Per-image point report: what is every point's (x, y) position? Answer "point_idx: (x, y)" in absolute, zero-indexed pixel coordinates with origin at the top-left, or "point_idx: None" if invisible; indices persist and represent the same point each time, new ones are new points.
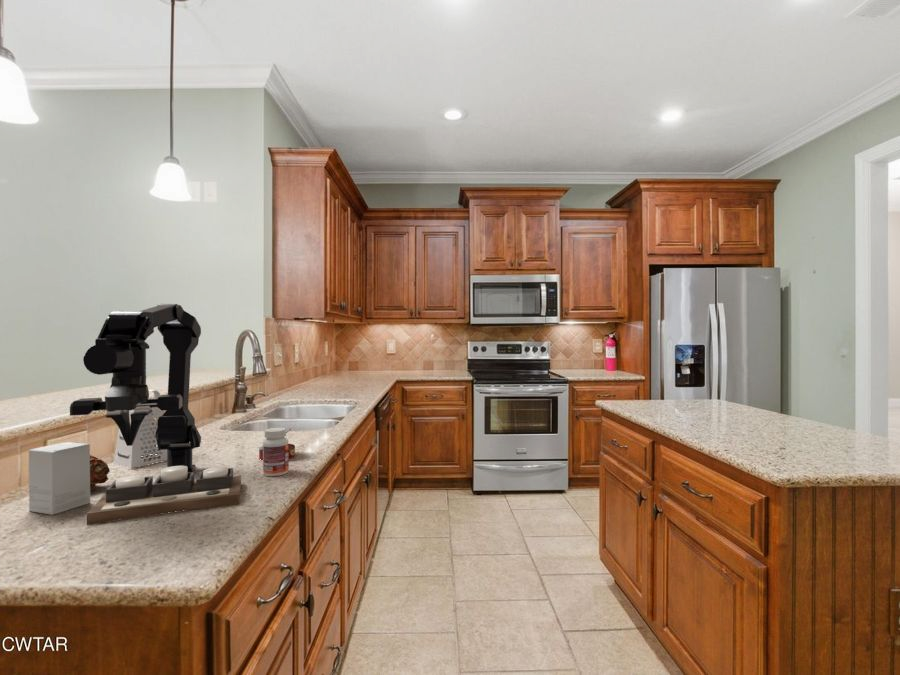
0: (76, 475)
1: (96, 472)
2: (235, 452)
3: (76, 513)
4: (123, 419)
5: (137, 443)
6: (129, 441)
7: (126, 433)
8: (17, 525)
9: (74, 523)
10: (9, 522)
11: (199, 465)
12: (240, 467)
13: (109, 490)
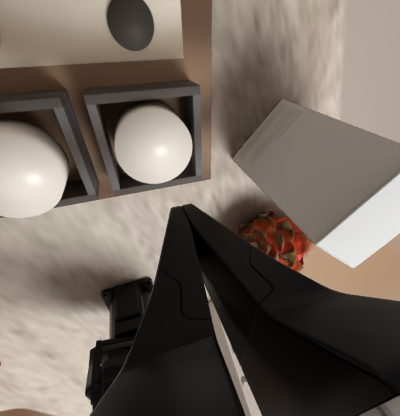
0: (289, 165)
1: (251, 242)
2: (76, 366)
3: (242, 95)
4: (294, 329)
5: (220, 343)
6: (183, 215)
7: (212, 242)
8: (329, 52)
9: (232, 4)
10: (338, 81)
11: (109, 319)
12: (4, 319)
13: (190, 86)
